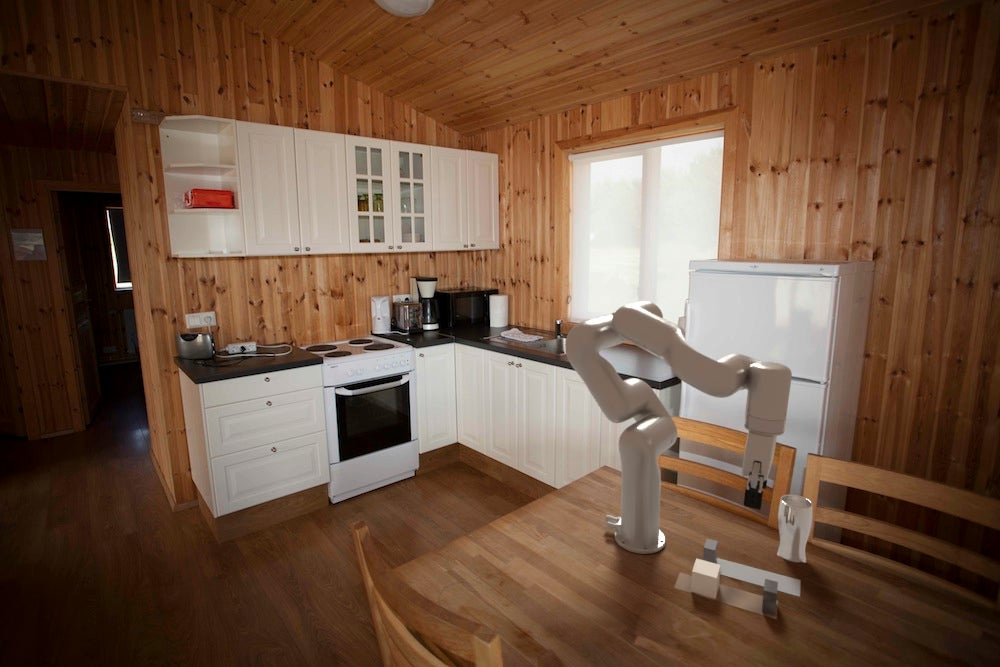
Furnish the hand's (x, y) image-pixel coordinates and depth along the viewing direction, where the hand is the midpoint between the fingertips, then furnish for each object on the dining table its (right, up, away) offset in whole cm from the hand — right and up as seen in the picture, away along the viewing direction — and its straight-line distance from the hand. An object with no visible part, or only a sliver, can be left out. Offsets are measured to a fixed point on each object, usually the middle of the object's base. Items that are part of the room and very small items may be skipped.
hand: (755, 496), depth 112 cm
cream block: (-10, -21, +3) cm, 23 cm away
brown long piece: (-6, -22, +1) cm, 23 cm away
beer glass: (+15, -19, +14) cm, 28 cm away
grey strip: (+2, -21, +7) cm, 22 cm away
